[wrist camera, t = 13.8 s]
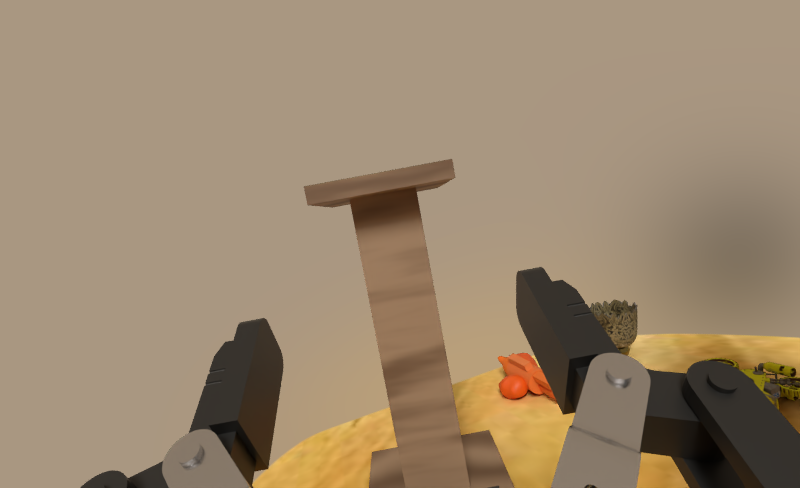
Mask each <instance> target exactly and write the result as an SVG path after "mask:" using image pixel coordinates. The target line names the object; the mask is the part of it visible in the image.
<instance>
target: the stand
mask: <svg viewBox="0 0 800 488" xmlns="http://www.w3.org/2000/svg"><path fill="white" fill-rule="evenodd" d="M454 178H455V174H454V168H453V162H452V159H449V160H444V161H438V162H433V163H428V164H422V165H417V166H411V167H406V168H401V169H395V170H390V171H384V172H380V173H374V174H368V175H363V176H358V177H352V178H347V179H341V180H336V181H331V182H325V183H320V184H315V185H309V186H304V189H305V194H306V199H307V204H308V205H312V206H323V207H337V206H342V205H348V204H351V209H352V214H353V219H354V224H355V229H356V235H357V240H358V245H359V250H360V256H361V261H362V266H363V271H364V276H365V281H366V286H367V291H368V296H369V302H370V307H371V312H372V317H373V323H374V328H375V333H376V338H377V343H378V348H379V353H380V358H381V363H382V369H383V374H384V379H385V384H386V389H387V395H388V399H389V405H390V410H391V415H392V420H393V426H394V431H395V436H396V441H397V446H398V447H396V448H391V449H386V450H380V451H375V452H372V459H371V471H370V482H369V488H488V487H493V486H499V488H514V486H513V483H512V481H511V479H510V477H509V474H508V472H507V470H506V467H505V465H504V463H503V461H502V458H501V456H500V454H499V452H498V449H497V447H496V445H495V443H494V440H493V438H492V436H491V434H490V431H489V430H487V431H481V432H476V433H471V434H465V435H461V433H460V428H459V422H458V417H457V411H456V406H455V400H454V395H453V389H452V384H451V378H450V373H449V367H448V362H447V357H446V351H445V346H444V340H443V335H442V329H441V323H440V318H439V313H438V307H437V301H436V296H435V291H434V286H433V280H432V274H431V269H430V263H429V258H428V252H427V247H426V242H425V236H424V231H423V225H422V219H421V214H420V208H419V203H418V197H417V192H418V191H423V190H428V189H434V188H438V187H440V186H441V185H443V184H445V183H447V182H448V181H450V180H452V179H454Z"/></svg>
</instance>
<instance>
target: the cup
mask: <svg viewBox="0 0 800 488" xmlns="http://www.w3.org/2000/svg"><path fill="white" fill-rule="evenodd" d="M590 310H591V311H592V314H594V316H595V317H596V318H597V320H598V321H599V323H600V324H601V326H602V327H603V328H604V330H605V331H606V333H607V334H608V336H609V337H610V338H611V340H612V341H613V343H614V344H615V346H616V347H617V348H618V350H619V351H620V352H621V354H624V355H628V354H629V351H630V348H629V345H631V344H632V343H633V342H634V340H635V339H636V335H637V305H636V304H635V303H633V305H632V306H628V302H627V301H625V300H624V301H623V302H622V303H621V302H620V301H617V300H613V301H612V302H611V303H610V304H609V305H608V303H607V302H606V301H604V302H603V307H602V305H601V304H600V303H598V302H597V303H596V304H595V305H594V304H593V303H592V305H591V307H590Z"/></svg>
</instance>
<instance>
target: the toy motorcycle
mask: <svg viewBox="0 0 800 488" xmlns="http://www.w3.org/2000/svg"><path fill="white" fill-rule="evenodd" d="M707 360H710V361H718V362H722V363H726V364H728V365H731V366H733V367H735V368H737V369H739V365H738V363H737V362H734V361H733V360H730V359H722V358H711V359H707ZM707 360H704V361H707ZM763 368H765V369H766V370H767V371H768V372H772V373H775V374H767V373H766V372H763ZM740 371H742V372H743V373H745V374H746V375H747V376H748V377H749V378H750V379H751V380H752V381H753V382H754V383H755V384H756V385H757V387H758V388H759V389H760V390H761V391H762V392H763V393H764V395H765V396H766V397H767V398H768V399H769V400H770V401H771V403H772V404H773V405H774V406H775V407H776V408H777V409H778V410H779V404H778V398H780V397H783V398H784V397H787V398H788V399H790V400H794V398H795V399H799V398H800V378H797V377H795V375H796V369H795V368H794V367H789V366H784V365H781V364H776V363H772V362H767V363H760V364H759V365H758V370H757V368H756V367H755V369H744V370H740ZM777 374H780V375H784V376H788V377H785V378H780V379H777ZM766 375H775V379H772V378H766ZM774 383H775V384H774ZM785 384H786V385H788V386H790V387H787V386H783V385H785ZM791 385H792V386H791ZM793 388H794V389H793ZM794 401H795V400H794Z"/></svg>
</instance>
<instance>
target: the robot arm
mask: <svg viewBox="0 0 800 488" xmlns="http://www.w3.org/2000/svg"><path fill="white" fill-rule="evenodd" d="M516 281H517V282H516V284H517V285H516V293H517V294H516V309H517V315H518V319H519V322H520V325H521V327H522V329H523V332H524V334H525V336H526V338H527V340H528V342H529V344H530V346H531V348H532V350H533V352H534V355H535V357H536V359H537V361H538V363H539V365H540V367H541V369H542V371H543V373H544V375H545V378H546V380H547V382H548V384H549V386H550V388H551V390H552V392H553V394H554V396H555V398H556V401H557V403H558V405H559V407H560V409H561V411H562V413H563V415H564V414H569V413H574V412H575V416H574V420H573V423H572V426H570V427H569V429H568V432H567V435H566V439H565V442H564V445H563V449H562V452H561V455H560V459H559V462H558V465H557V469H556V472H555V476H554V479H553V482H552V486H551V488H636V487H637V480H638V474H639V468H640V460H641V452H644V453H651V454H658V455H666V456H671V457H672V459H673V460H674V462H675V464H676V465H677V467H678V469H679V471H680V472H681V474H682V476H683V477H684V479H685V481H686V482H687V484H688V486H689V488H800V434H799V433H798V432H797V431H796V430H795V429H794V427H793V426H792V425H791V424H790V423H789V422H788V421H787V420H786V418H785V417H784V416H783V415H782V414H781V413H780V412H779V410H778V409H777V408H776V407H775V406H774V405H773V404H772V403H771V401H770V400H769V399H768V398H767V397H766V396H765V395H764V393H763V392H762V391H761V390H760V389H759V388H758V387H757V385H756V384H755V383H754V382H753V381H752V380H751V379H750V378H749V377H748V376H747V375H746V374H745V373H743V372H742V371H740V370H739V369H737V368H735V367H733V366H731V365H728V364H726V363H722V362H718V361H710V360H707V361H699V362H696V363H694V364H693V365H691V366H690V368H689V369H688V371H687V374H685V373H674V372H662V371H654V370H649V369H646V368H645V367H644V366H643V365H642V364H641V363H639V362H638V361H637V360H635V359H633V358H631V357H629V356H627V355H624V354H621V352H620V351H619V350H618V348H617V347H616V346H615V344H614V343H613V341H612V340H611V338H610V337H609V336H608V334H607V333H606V331H605V330H604V328H603V327H602V326H601V324H600V323H599V321H598V320H597V318H596V317H595V316H594V314H592V311H591V310H590V308H589V307H588V306H587V304H585V301H584V300H583V298H582V297H581V296H580V294H579V293H578V291H577V290H576V289H575V288H573V287H572V286H570V285H569V284H567V283H566V282H564V281H563V280H559V281H553V282H552V281H551V279H550V278H549V276H548V275H547V273H546V272H545V270H544V269H543V268H542V267H539V268H533V269H527V270H523V271H518V272H517V277H516ZM282 374H283V357H282V353H281V350H280V348H279V345H278V343H277V341H276V339H275V337H274V335H273V333H272V330H271V329H270V326H269V324H268V322H267V320H266V319H265V318H262V319H256V320H251V321H246V322H241V323H240V324H239V325H238V327H237V331H236V334H235V337H234V341H228V342H225V343H224V344H223V346H222V347H221V348H220V350H219V351H218V352H217V353H216V355H215V356H214V359H213V362H212V365H211V368H210V374H208V377H207V380H206V386H204V389H203V392H202V395H201V398H200V401H199V404H198V407H197V410H196V413H195V416H194V419H193V422H192V425H191V428H190V431H189V433H188V434H187V435H185V436H183V437H182V438H180V439H179V440H178V441H177V442H176V443H175V444H174V445H173V446H172V447H171V448H170V449H169V451H168V452H167V454H166V456H165V458H164V461H162V462H160V463H159V464H157V465H155V466H152V467H150V468H148V469H146V470H144V471H142V472H140V473H138V474H136V475H134V476H132V477H130V478H127V477H126V476H125V475H124V474H123V473H121V472H119V471H107V472H104V473H101V474H99V475H97V476H95V477H94V478H92V479H91V480H89V481H88V482H86V483H85V484H84V485H83V486H82V487H81V488H253V486H252V482H253V476H254V471H259V470H265V469H268V466H269V459H270V453H271V446H272V440H273V433H274V426H275V420H276V413H277V407H278V400H279V394H280V387H281V381H282ZM488 488H499V486H493V487H488Z"/></svg>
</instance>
